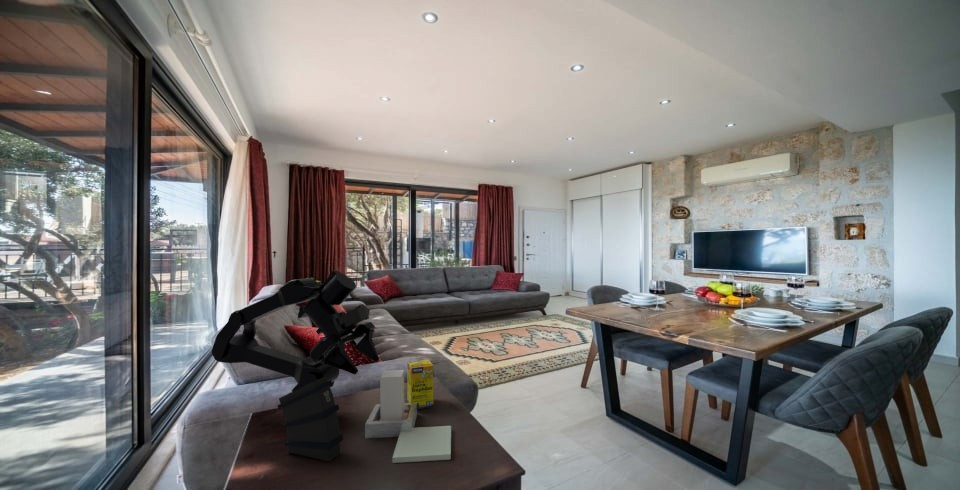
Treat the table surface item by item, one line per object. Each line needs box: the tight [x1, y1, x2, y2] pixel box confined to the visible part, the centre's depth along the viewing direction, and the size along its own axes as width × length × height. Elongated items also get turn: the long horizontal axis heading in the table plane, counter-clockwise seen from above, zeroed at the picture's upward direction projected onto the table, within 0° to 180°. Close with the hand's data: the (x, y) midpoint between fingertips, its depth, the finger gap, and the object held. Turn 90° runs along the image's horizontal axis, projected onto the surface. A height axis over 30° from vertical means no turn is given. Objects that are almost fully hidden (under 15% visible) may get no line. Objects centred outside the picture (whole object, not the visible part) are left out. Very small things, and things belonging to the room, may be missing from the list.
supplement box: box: [406, 359, 434, 411], centre depth 90 cm, size 6×6×11 cm
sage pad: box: [392, 425, 452, 464], centre depth 70 cm, size 11×11×1 cm
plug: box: [379, 369, 408, 421], centre depth 79 cm, size 6×6×12 cm
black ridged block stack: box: [277, 376, 344, 462], centre depth 68 cm, size 4×13×15 cm, turn 71°
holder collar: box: [364, 402, 418, 439], centre depth 79 cm, size 10×10×3 cm
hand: (367, 366), depth 80 cm, fingers open, 9 cm apart
